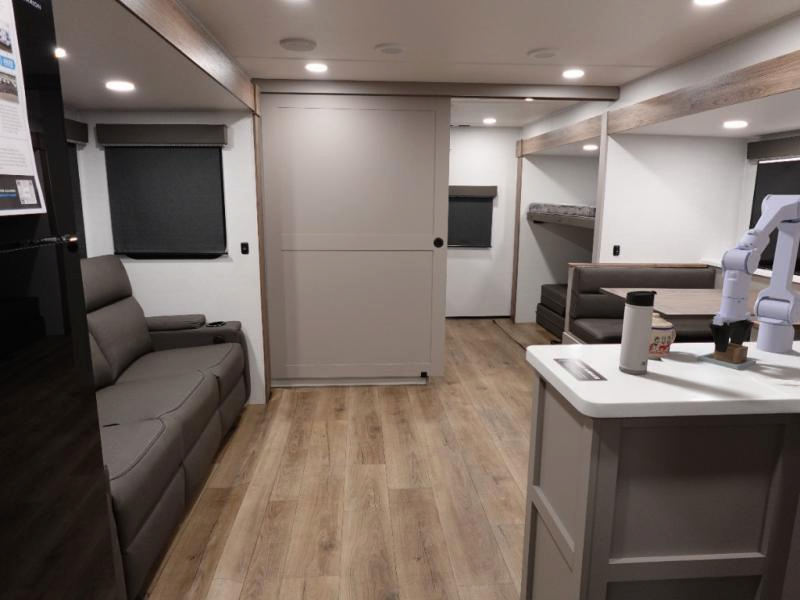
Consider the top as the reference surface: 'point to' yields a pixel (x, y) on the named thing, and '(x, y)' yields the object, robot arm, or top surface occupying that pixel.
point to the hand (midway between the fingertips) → (728, 349)
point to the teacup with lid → (660, 337)
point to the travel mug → (636, 332)
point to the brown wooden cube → (732, 354)
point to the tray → (739, 366)
